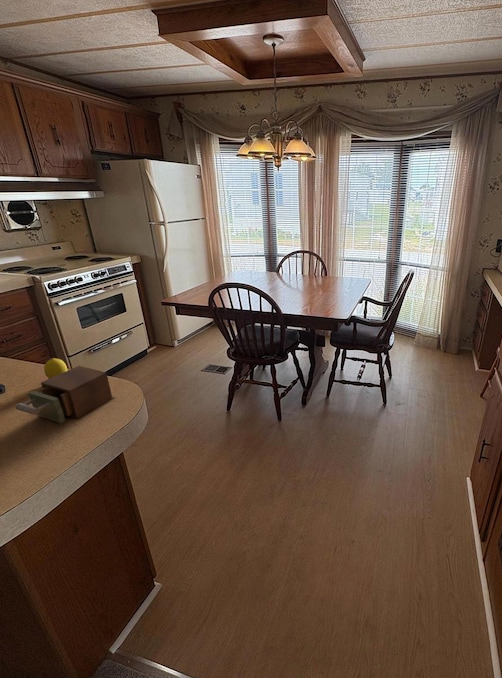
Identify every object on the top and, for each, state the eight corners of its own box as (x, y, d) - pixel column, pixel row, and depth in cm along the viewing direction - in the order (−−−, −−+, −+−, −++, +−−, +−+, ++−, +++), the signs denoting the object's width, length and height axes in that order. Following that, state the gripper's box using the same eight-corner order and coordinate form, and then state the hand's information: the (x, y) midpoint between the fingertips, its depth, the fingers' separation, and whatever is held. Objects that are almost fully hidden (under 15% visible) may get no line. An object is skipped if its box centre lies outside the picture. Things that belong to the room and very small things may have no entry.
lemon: (68, 375, 111) (61, 352, 108) (71, 381, 107) (65, 358, 104) (46, 380, 107) (39, 357, 104) (49, 387, 104) (42, 364, 101)
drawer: (43, 433, 83) (35, 409, 81) (17, 424, 86) (9, 401, 83) (95, 403, 95) (89, 382, 93) (71, 396, 98) (65, 376, 95)
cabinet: (77, 418, 90) (69, 390, 87) (49, 409, 93) (40, 382, 90) (112, 398, 100) (106, 372, 96) (86, 390, 103) (79, 365, 99)
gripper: (-128, 431, 63) (-18, 397, 80) (-75, 447, 61) (27, 408, 77) (-136, 394, 62) (-22, 366, 78) (-82, 409, 59) (24, 377, 76)
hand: (2, 387), depth 78 cm, fingers closed
